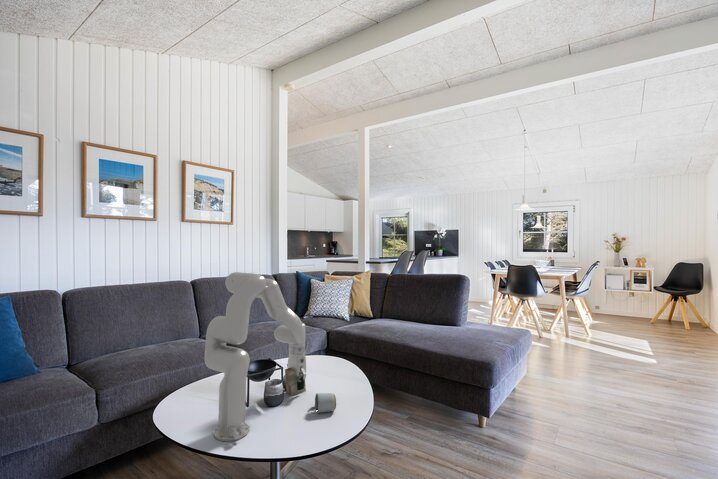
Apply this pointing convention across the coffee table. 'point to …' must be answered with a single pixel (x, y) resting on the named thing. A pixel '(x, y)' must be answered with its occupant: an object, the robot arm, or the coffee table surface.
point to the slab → (292, 382)
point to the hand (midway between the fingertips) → (295, 386)
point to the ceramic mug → (325, 402)
